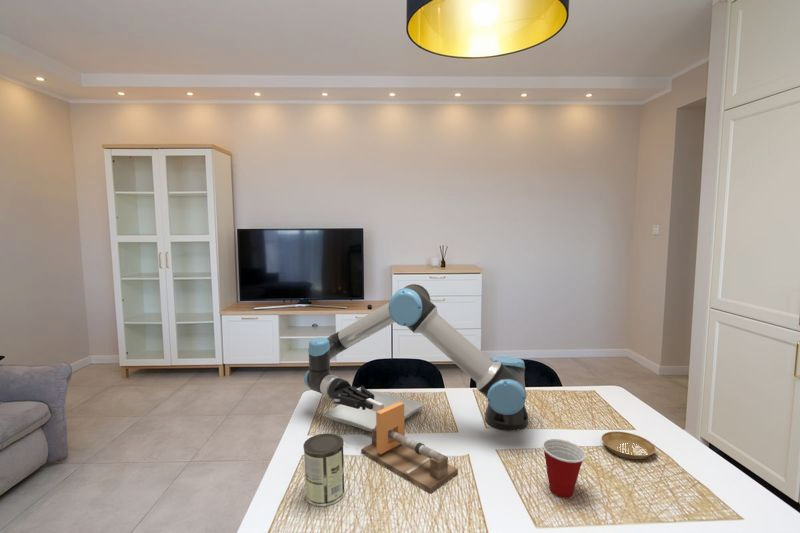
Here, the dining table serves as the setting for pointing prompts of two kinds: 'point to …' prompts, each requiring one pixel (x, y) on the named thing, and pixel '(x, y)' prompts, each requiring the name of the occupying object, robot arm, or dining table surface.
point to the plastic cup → (562, 465)
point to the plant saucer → (617, 438)
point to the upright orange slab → (389, 425)
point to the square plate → (371, 411)
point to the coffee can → (324, 469)
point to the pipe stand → (412, 461)
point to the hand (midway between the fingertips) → (381, 408)
